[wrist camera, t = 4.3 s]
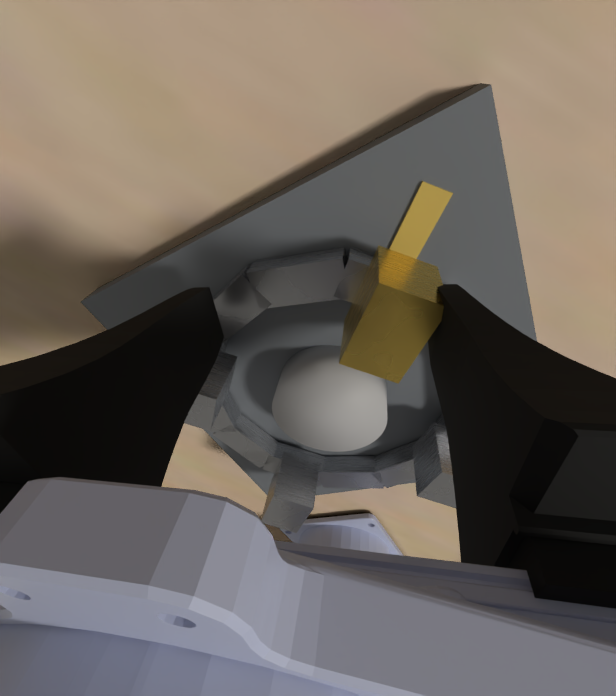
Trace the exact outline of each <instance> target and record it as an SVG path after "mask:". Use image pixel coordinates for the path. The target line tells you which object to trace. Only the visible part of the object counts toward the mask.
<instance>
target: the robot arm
mask: <svg viewBox="0 0 616 696" xmlns="http://www.w3.org/2000/svg"><path fill="white" fill-rule="evenodd" d="M438 290H439V294H440V298H441V300H442V302H443V305H444V309H443V315H442V321H441V322H440V324H439V325H438V327H437V328H436V330H435V331H434V332H433V334H432V335H431V337H430V338H429V340H428V347H429V357H430V366H431V370H432V374H433V378H434V382H435V386H436V390H437V394H438V398H439V402H440V406H441V410H442V414H443V418H444V422H445V426H446V431H447V436H448V443H449V451H450V458H451V466H452V474H453V483H454V492H455V500H456V510H457V520H458V530H459V541H460V553H461V562H452V561H444V560H436V559H427V558H419V557H410V556H403V554H402V553H401V551H400V550H399V549H398V547H397V546H396V545H395V543H394V542H393V540H392V539H391V538H390V536H389V535H388V533H387V532H386V531H385V529H384V528H383V526H382V525H381V524H380V522H379V521H378V520H377V518H376V517H375V516H374V515H373V514H370V513H364V514H354V515H344V516H334V517H324V518H314V519H306V520H305V521H304V523H303V524H302V526H301V527H300V529H299V530H298V532H297V533H294V532H291V531H288V530H284V529H281V528H280V530H281V531H282V532H283V533H284V534H285V535H286V536H287V537H288V538H289V539H290V540H291V541H292V542H285V541H277V540H274V539H273V536H272V534H271V533H270V531H269V530H268V528H267V527H266V526H265V524H264V523H263V522H262V521H261V520H260V518H259V517H258V516H257V515H256V514H255V512H253V511H251V510H249V509H247V508H245V507H244V506H242V505H240V504H238V503H236V502H234V501H232V500H230V499H229V498H226V497H222V496H218V495H213V494H209V493H205V492H201V491H196V490H188V489H178V488H168V487H161V486H162V482H163V479H164V476H165V473H166V470H167V467H168V464H169V461H170V458H171V456H172V453H173V450H174V447H175V444H176V442H177V439H178V437H179V434H180V432H181V429H182V426H183V424H184V421H185V419H186V417H187V415H188V413H189V411H190V409H191V407H192V405H193V403H194V401H195V399H196V398H197V396H198V394H199V392H200V390H201V388H202V386H203V385H204V383H205V381H206V379H207V377H208V375H209V373H210V371H211V369H212V367H213V365H214V363H215V361H216V359H217V356H218V354H219V351H220V348H221V345H222V342H223V338H224V334H223V331H222V328H221V324H220V321H219V318H218V314H217V311H216V307H215V304H214V301H213V297H212V294H211V291H210V287H197V288H190V289H188V290H185V291H183V292H181V293H179V294H177V295H175V296H173V297H171V298H169V299H167V300H165V301H163V302H161V303H160V304H158V305H156V306H154V307H152V308H150V309H148V310H147V311H145V312H143V313H141V314H139V315H137V316H135V317H133V318H131V319H129V320H127V321H125V322H123V323H121V324H119V325H117V326H115V327H113V328H111V329H109V330H106V331H104V332H102V333H99V334H97V335H95V336H92V337H90V338H87V339H85V340H82V341H80V342H77V343H75V344H72V345H69V346H66V347H63V348H60V349H57V350H54V351H51V352H48V353H45V354H42V355H39V356H36V357H32V358H29V359H25V360H21V361H18V362H14V363H10V364H6V365H2V366H0V696H616V378H614V377H611V376H609V375H606V374H604V373H601V372H598V371H596V370H594V369H592V368H589V367H587V366H585V365H583V364H580V363H578V362H576V361H574V360H571V359H569V358H567V357H565V356H563V355H561V354H559V353H557V352H555V351H553V350H551V349H549V348H548V347H546V346H544V345H542V344H540V343H538V342H537V341H535V340H533V339H531V338H530V337H528V336H526V335H525V334H523V333H522V332H520V331H519V330H517V329H516V328H514V327H513V326H511V325H510V324H508V323H507V322H505V321H504V320H502V319H501V318H500V317H498V316H497V315H496V314H494V313H493V312H492V311H490V310H489V309H488V308H486V307H485V306H484V305H483V304H481V303H480V302H479V301H478V300H477V299H475V298H474V297H473V296H472V295H470V294H469V293H468V292H467V291H466V290H464V289H463V288H462V287H460V286H459V285H458V284H443V285H441V286H439V287H438Z"/></svg>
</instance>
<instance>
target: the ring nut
mask: <svg viewBox="0 0 616 696" xmlns="http://www.w3.org/2000/svg"><path fill="white" fill-rule="evenodd" d="M444 284H446V283H444ZM441 285H443V283H442V280H441V277H440V273H439V270H438V267H437V266H435V265H432V264H429V263H426V262H423V261H421V260H418V259H415V258H412V257H410V256H407V255H404V254H401V253H399V252H396V251H393V250H390V249H388V248H385V247H382V246H379V245H378V247H377V250H376V252H375V254H374V255H372V254H369V253H366V252H364V251H361V250H358V249H355V248H353V247H350V250H349V252H348V255H347V257H346V252H345V246H343V247H337V248H330V249H324V250H318V251H312V252H306V253H299V254H293V255H287V256H281V257H275V258H268V259H262V260H256V261H254V262H253V263H252V265H251V264H250V263H249V264H248V265H247V266H246V267H245V268H244V269H242V270H241V271H240V272H239V273H238V274H237V275H236V276H235V277H234V278H233V279H232V280H231V281H230V282H228V283H227V284H226V285H225V286H224V287H223V288H222V289H221V290H220V291H219V292H218V293H217V294H215V295H214V296H213V301H214V304H215V307H216V311H217V314H218V318H219V321H220V324H221V328H222V331H223V334H224V338H223V342H222V345H221V348H220V351H219V354H218V356H217V359H216V361H215V363H214V365H213V367H212V369H211V371H210V373H209V375H208V377H207V379H206V381H205V383H204V385H203V386H202V388H201V390H200V392H199V394H198V396H197V398H196V399H195V401H194V403H193V405H192V407H191V409H190V411H189V413H188V415H187V417H186V419H185V421H184V423H186V424H189V425H192V426H196V427H199V428H202V429H205V430H208V431H210V432H214V433H213V435H214V436H215V437H216V438H218V439H219V440H221V441H222V442H223V443H225V444H226V445H228V446H229V447H231V448H232V449H233V450H235V451H236V452H238V453H239V454H241V455H242V456H243V457H245V458H246V459H248V460H249V461H251V462H252V463H253V464H255V465H256V466H258V467H259V468H260V467H262V466H263V470H266V471H270V472H273V473H274V475H273V477H272V479H271V483H270V487H269V491H268V495H267V499H266V503H265V506H264V510H263V514H262V518H261V521H262V522H263V523H264V524H268V525H271V526H274V527H278V528H281V529H284V530H288V531H291V532H294V533H297V532H298V530H299V529H300V527H301V526H302V524H303V523H304V521H305V520H306V519H307V517H308V516H309V514H310V513H311V511H312V510H313V508H314V501H315V494H316V487H317V486H318V487H320V485H321V484H322V486H323V487H327V488H384V487H383V485H384V486H385V487H387V488H389V487H392V486H395V485H398V484H401V483H404V482H408V481H411V480H414V479H415V480H416V491H417V496H418V497H422V498H425V499H428V500H431V501H434V502H438V503H441V504H444V505H447V506H450V507H454V508H456V500H455V492H454V483H453V474H452V466H451V458H450V451H449V443H448V436H447V431H446V426H445V422H444V418H443V414H442V415H441V416H440V417H439V419H438V420H437V421H436V422H433V423H432V424H431V426H430V427H429V428H428V429H427V430H426V431H425V433H424V434H423V435H422V436H421V437H420V438H419V439H418V440H417V441H414V442H411V443H409V444H406V445H403V446H401V447H398V448H396V449H393V450H390V451H388V452H385V453H382V454H380V455H377V456H334V457H325V456H321V455H318V454H315V453H312V452H309V451H306V450H303V449H299V448H296V447H293V446H290V445H287V444H284V443H280V442H277V441H276V440H275V439H274V438H272V437H271V436H270V435H268V434H267V433H266V432H264V431H263V430H262V429H260V428H259V427H258V426H256V425H255V424H254V423H252V422H251V421H250V420H249V419H247V418H246V417H245V416H243V415H242V414H241V413H240V412H239V410H238V408H237V406H236V404H235V402H234V400H233V397H232V395H231V393H230V391H229V389H230V387H231V382H232V378H233V374H234V369H235V365H236V361H237V356H234V355H231V354H228V353H225V350H226V345H227V340H228V339H229V338H230V337H231V336H232V335H234V334H235V333H236V332H237V331H239V330H240V329H241V328H242V327H244V326H245V325H246V324H248V323H249V322H250V321H251V320H253V319H254V318H255V317H256V316H258V315H259V314H260V313H261V312H263V311H264V310H265V309H266V308H273V307H282V306H290V305H298V304H306V303H314V302H322V301H331V300H339V299H342V300H345V301H348V302H351V303H352V304H351V306H350V309H349V311H348V313H347V315H346V317H345V320H344V328H343V335H342V343H341V351H340V359H339V364H341V365H344V366H347V367H350V368H353V369H356V370H359V371H362V372H365V373H368V374H371V375H374V376H377V377H380V378H383V379H386V380H389V381H392V382H395V383H398V384H399V382H400V381H401V379H402V378H403V376H404V375H405V373H406V372H407V371H408V369H409V368H410V366H411V365H412V363H413V362H414V360H415V359H416V357H417V356H418V354H419V353H420V352H421V350H422V349H423V347H424V346H425V344H426V343H427V341H428V340H429V338H430V337H431V335H432V334H433V332H434V331H435V330H436V328H437V327H438V325H439V324H440V322H441V321H442V315H443V309H444V305H443V302H442V300H441V298H440V294H439V290H438V287H439V286H441Z"/></svg>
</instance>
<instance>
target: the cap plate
mask: <svg viewBox="0 0 616 696" xmlns="http://www.w3.org/2000/svg"><path fill="white" fill-rule="evenodd" d="M378 245H379V246H382V247H385V248H388V249H390V250H393V251H396V252H399V253H401V254H404V255H407V256H410V257H412V258H415V259H418V260H421V261H423V262H426V263H429V264H432V265H435V266H437V267H438V270H439V273H440V277H441V280H442V283H443V284H444V283H446V284H458V285H459V286H460V287H462V288H463V289H464V290H466V291H467V292H468V293H469V294H470V295H472V296H473V297H474V298H475V299H477V300H478V301H479V302H480V303H481V304H483V305H484V306H485V307H486V308H488V309H489V310H490V311H492V312H493V313H494V314H496V315H497V316H498V317H500V318H501V319H502V320H504V321H505V322H507V323H508V324H510V325H511V326H513V327H514V328H516V329H517V330H519V331H520V332H522V333H523V334H525V335H526V336H528V337H530V338H531V339H533V340H535V341H537V339H536V333H535V328H534V322H533V316H532V311H531V305H530V300H529V294H528V288H527V283H526V277H525V272H524V266H523V260H522V255H521V249H520V244H519V238H518V233H517V227H516V221H515V216H514V210H513V205H512V199H511V193H510V188H509V182H508V177H507V171H506V165H505V160H504V154H503V149H502V143H501V137H500V132H499V126H498V121H497V115H496V109H495V104H494V98H493V93H492V87H491V85H489V84H482V83H480V84H478V85H476V86H475V87H473V88H471V89H469V90H467V91H465V92H463V93H461V94H460V95H458V96H456V97H454V98H452V99H450V100H448V101H447V102H445V103H443V104H441V105H439V106H437V107H435V108H434V109H432V110H430V111H428V112H426V113H424V114H422V115H420V116H419V117H417V118H415V119H413V120H411V121H409V122H407V123H406V124H404V125H402V126H400V127H398V128H396V129H394V130H392V131H391V132H389V133H387V134H385V135H383V136H381V137H379V138H378V139H376V140H374V141H372V142H370V143H368V144H366V145H365V146H363V147H361V148H359V149H357V150H355V151H353V152H351V153H350V154H348V155H346V156H344V157H342V158H340V159H338V160H337V161H335V162H333V163H331V164H329V165H327V166H325V167H323V168H322V169H320V170H318V171H316V172H314V173H312V174H310V175H309V176H307V177H305V178H303V179H301V180H299V181H297V182H296V183H294V184H292V185H290V186H288V187H286V188H284V189H282V190H281V191H279V192H277V193H275V194H273V195H271V196H269V197H268V198H266V199H264V200H262V201H260V202H258V203H256V204H255V205H253V206H251V207H249V208H247V209H245V210H243V211H241V212H240V213H238V214H236V215H234V216H232V217H230V218H228V219H227V220H225V221H223V222H221V223H219V224H217V225H215V226H213V227H212V228H210V229H208V230H206V231H204V232H202V233H200V234H199V235H197V236H195V237H193V238H191V239H189V240H187V241H186V242H184V243H182V244H180V245H178V246H176V247H174V248H172V249H171V250H169V251H167V252H165V253H163V254H161V255H159V256H158V257H156V258H154V259H152V260H150V261H148V262H146V263H144V264H143V265H141V266H139V267H137V268H135V269H133V270H131V271H130V272H128V273H126V274H124V275H122V276H120V277H118V278H117V279H115V280H113V281H111V282H109V283H107V284H105V285H103V286H102V287H100V288H98V289H96V290H95V291H94V292H93V293H91V294H90V295H89V296H87V297H86V298H85V299H84V300H82V301H81V303H82V304H83V305H84V306H85V307H86V308H87V309H88V310H89V311H90V312H91V313H92V314H93V315H94V316H95V317H96V318H97V319H98V320H99V321H100V323H101V324H102V325H103V326H104V327H105V328H106V329H107V330H109V329H111V328H113V327H115V326H117V325H119V324H121V323H123V322H125V321H127V320H129V319H131V318H133V317H135V316H137V315H139V314H141V313H143V312H145V311H147V310H148V309H150V308H152V307H154V306H156V305H158V304H160V303H161V302H163V301H165V300H167V299H169V298H171V297H173V296H175V295H177V294H179V293H181V292H183V291H185V290H188V289H190V288H197V287H210V291H211V294H212V297H213V296H214V295H215V294H217V293H218V292H219V291H220V290H221V289H222V288H223V287H224V286H225V285H226V284H227V283H228V282H230V281H231V280H232V279H233V278H234V277H235V276H236V275H237V274H238V273H239V272H240V271H241V270H242V269H244V268H245V267H246V266H247V265H248V264H249V263H250V264H251V265H252V263H253V262H254V261H256V260H262V259H268V258H275V257H281V256H287V255H293V254H299V253H306V252H312V251H318V250H324V249H330V248H337V247H343V246H345V252H346V257H347V255H348V252H349V250H350V247H353V248H355V249H358V250H361V251H364V252H366V253H369V254H372V255H374V254H375V252H376V250H377V247H378ZM351 304H352V303H351V302H348V301H345V300H342V299H339V300H331V301H322V302H314V303H306V304H298V305H290V306H282V307H273V308H266V309H265V310H264V311H263V312H261V313H260V314H259V315H258V316H256V317H255V318H254V319H253V320H251V321H250V322H249V323H248V324H246V325H245V326H244V327H242V328H241V329H240V330H239V331H237V332H236V333H235V334H234V335H232V336H231V337H230V338H229V339H228V340H227V345H226V350H225V353H228V354H231V355H234V356H237V361H236V365H235V369H234V374H233V378H232V382H231V387H230V389H229V391H230V393H231V395H232V397H233V400H234V402H235V404H236V406H237V408H238V410H239V412H240V413H241V414H242V415H243V416H245V417H246V418H247V419H249V420H250V421H251V422H252V423H254V424H255V425H256V426H258V427H259V428H260V429H262V430H263V431H264V432H266V433H267V434H268V435H270V436H271V437H272V438H274V439H275V440H276V441H277V442H280V443H284V444H287V445H290V446H293V447H296V448H299V449H303V450H306V451H309V452H312V453H315V454H318V455H321V456H325V457H334V456H377V455H380V454H382V453H385V452H388V451H390V450H393V449H396V448H398V447H401V446H403V445H406V444H409V443H411V442H414V441H417V440H418V439H419V438H420V437H421V436H422V435H423V434H424V433H425V431H426V430H427V429H428V428H429V427H430V426H431V424H432V423H433V422H436V421H437V420H438V419H439V417H440V416H441V415H442V410H441V406H440V402H439V398H438V394H437V390H436V386H435V382H434V378H433V374H432V370H431V366H430V357H429V347H428V341H427V343H426V344H425V346H424V347H423V349H422V350H421V352H420V353H419V354H418V356H417V357H416V359H415V360H414V362H413V363H412V365H411V366H410V368H409V369H408V371H407V372H406V373H405V375H404V376H403V378H402V379H401V381H400V382H399V384H398V383H395V382H392V381H389V380H386V379H383V378H380V377H377V376H374V375H371V374H368V373H365V372H362V371H359V370H356V369H353V368H350V367H347V366H344V365H341V364H339V359H340V351H341V343H342V335H343V328H344V320H345V317H346V315H347V313H348V311H349V309H350V306H351ZM204 430H205V429H204ZM205 431H206V432H207V433H208V434H209V435H210V436H211V437H212V438H213V440H214V441H215V442H216V443H217V444H218V445H219V446H220V447H221V448H222V449H223V450H224V451H225V452H226V453H227V454H228V455H229V456H230V457H231V458H232V459H233V460H234V461H235V462H236V463H237V464H238V465H239V466H240V467H241V469H242V470H243V471H244V472H245V473H246V474H247V475H248V476H249V477H250V478H251V479H252V480H253V481H254V482H255V483H256V484H257V485H258V486H259V487H260V488H261V489H262V490H263V491H264V492H265V493H266V494H267V495H268V491H269V487H270V483H271V479H272V477H273V475H274V473H273V472H270V471H266V470H263V466H262V467H260V468H259V467H258V466H256V465H255V464H253V463H252V462H251V461H249V460H248V459H246V458H245V457H243V456H242V455H241V454H239V453H238V452H236V451H235V450H233V449H232V448H231V447H229V446H228V445H226V444H225V443H223V442H222V441H221V440H219V439H218V438H216V437H215V436H214V435H213V433H214V432H210V431H208V430H205ZM414 482H416V480H415V479H414V480H411V481H408V482H404V483H401V484H407V483H414ZM398 485H399V484H398ZM383 487H384V485H383ZM360 489H368V488H327V487H323V486H322V484H321V485H320V487H318V486H317V487H316V494H315V495H322V494H330V493H337V492H345V491H353V490H360Z"/></svg>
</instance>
